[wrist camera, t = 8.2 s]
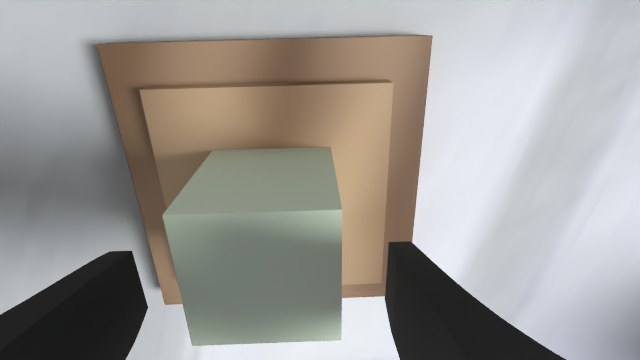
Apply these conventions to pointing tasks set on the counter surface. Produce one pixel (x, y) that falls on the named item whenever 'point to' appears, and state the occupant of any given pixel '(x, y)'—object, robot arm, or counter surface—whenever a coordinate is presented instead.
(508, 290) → the counter surface
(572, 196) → the counter surface
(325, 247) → the sage block
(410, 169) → the walnut base
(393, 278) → the robot arm
